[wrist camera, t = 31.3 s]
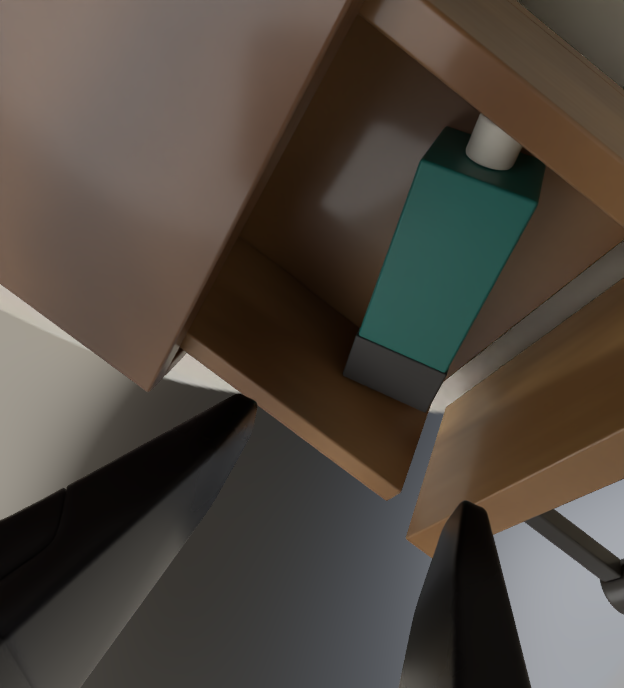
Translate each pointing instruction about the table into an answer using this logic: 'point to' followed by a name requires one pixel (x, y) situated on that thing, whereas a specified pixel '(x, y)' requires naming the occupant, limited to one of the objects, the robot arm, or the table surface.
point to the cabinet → (144, 154)
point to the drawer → (501, 304)
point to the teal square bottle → (444, 260)
